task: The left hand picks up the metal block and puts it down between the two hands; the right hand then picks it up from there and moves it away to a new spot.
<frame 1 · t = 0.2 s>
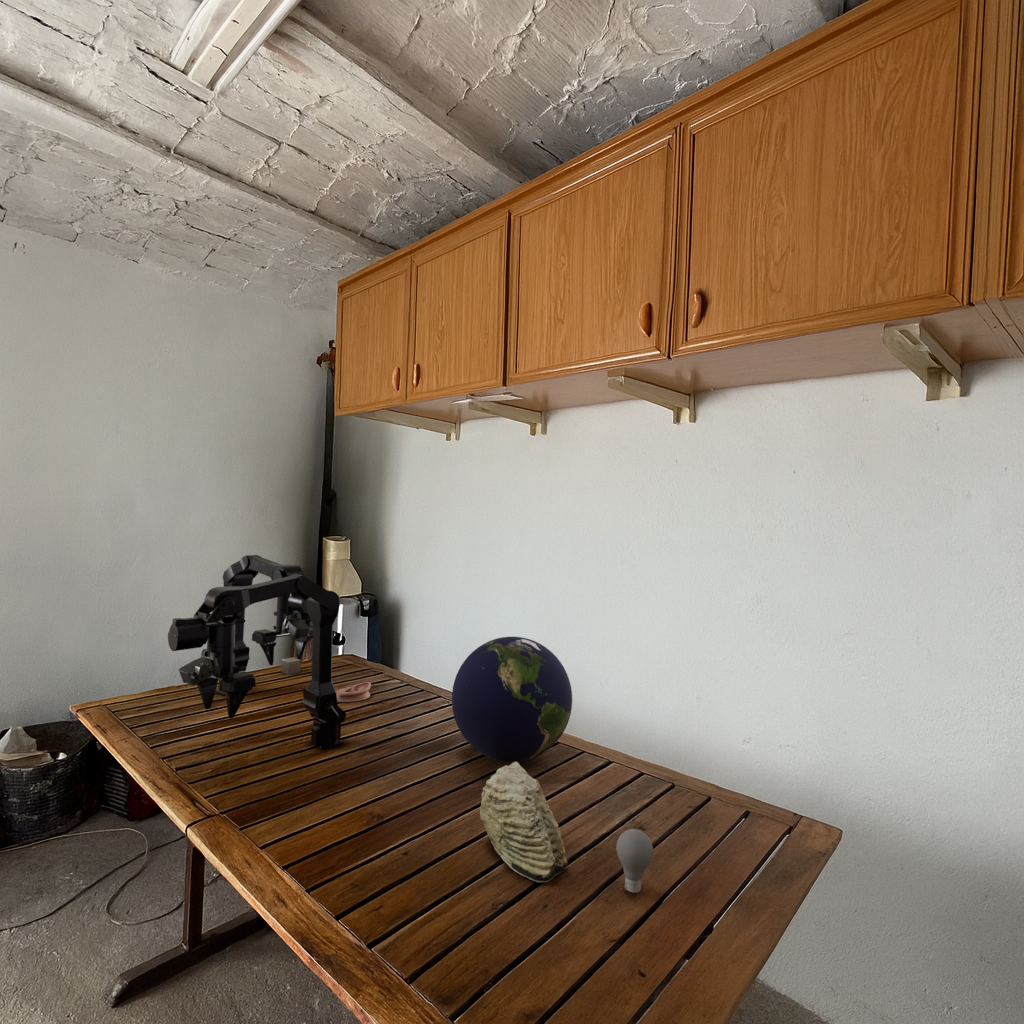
left hand: (285, 662, 184), 15 cm above the table, tool pointing down, fingers open, 9 cm apart
right hand: (219, 713, 142), 14 cm above the table, tool pointing down, fingers open, 9 cm apart
globe: (509, 758, 158), on the table
block: (290, 672, 224), on the table
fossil: (519, 856, 115), on the table
anatomical model: (347, 697, 200), on the table
light bulb: (632, 891, 106), on the table
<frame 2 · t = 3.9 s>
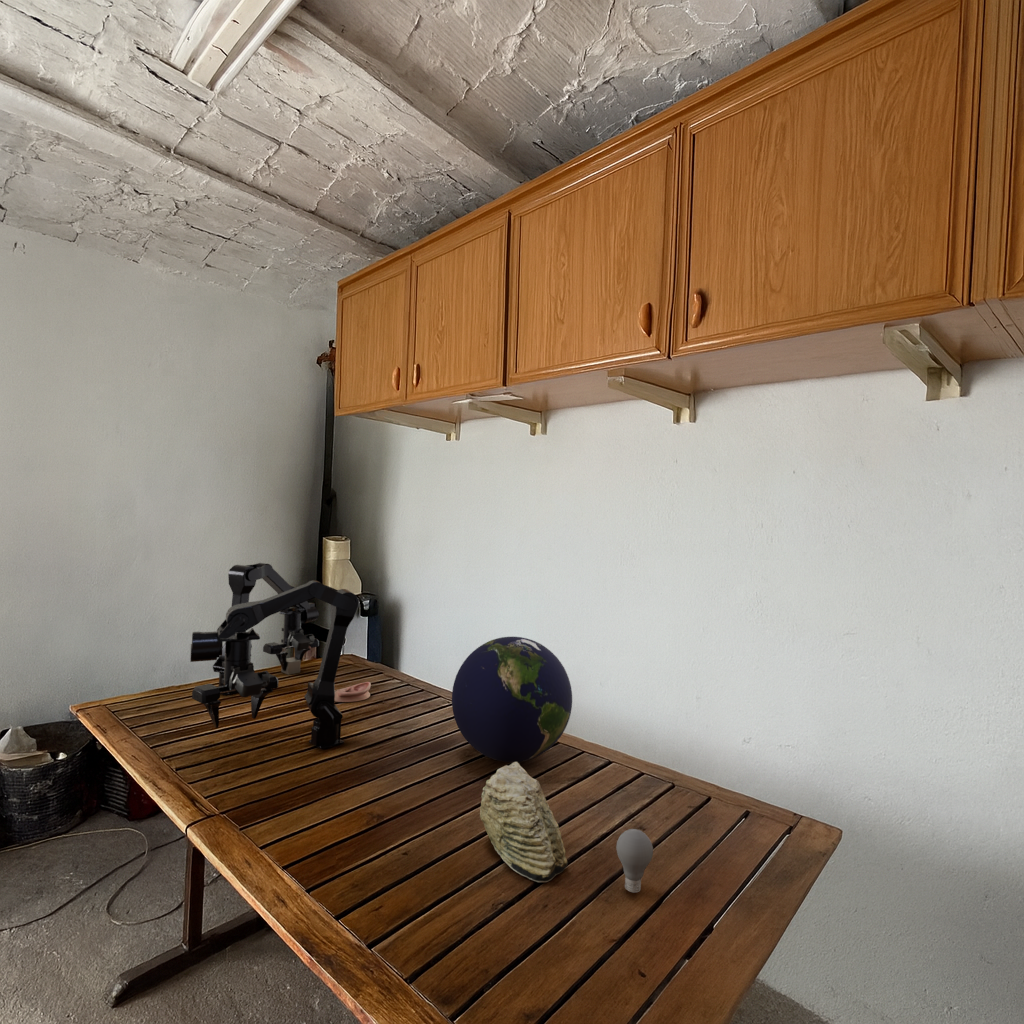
left hand: (290, 669, 224), 1 cm above the table, tool pointing down, fingers closed on block, 5 cm apart
right hand: (235, 722, 152), 8 cm above the table, tool pointing down, fingers open, 9 cm apart
block: (290, 672, 225), on the table, touching left hand
everything else where it was.
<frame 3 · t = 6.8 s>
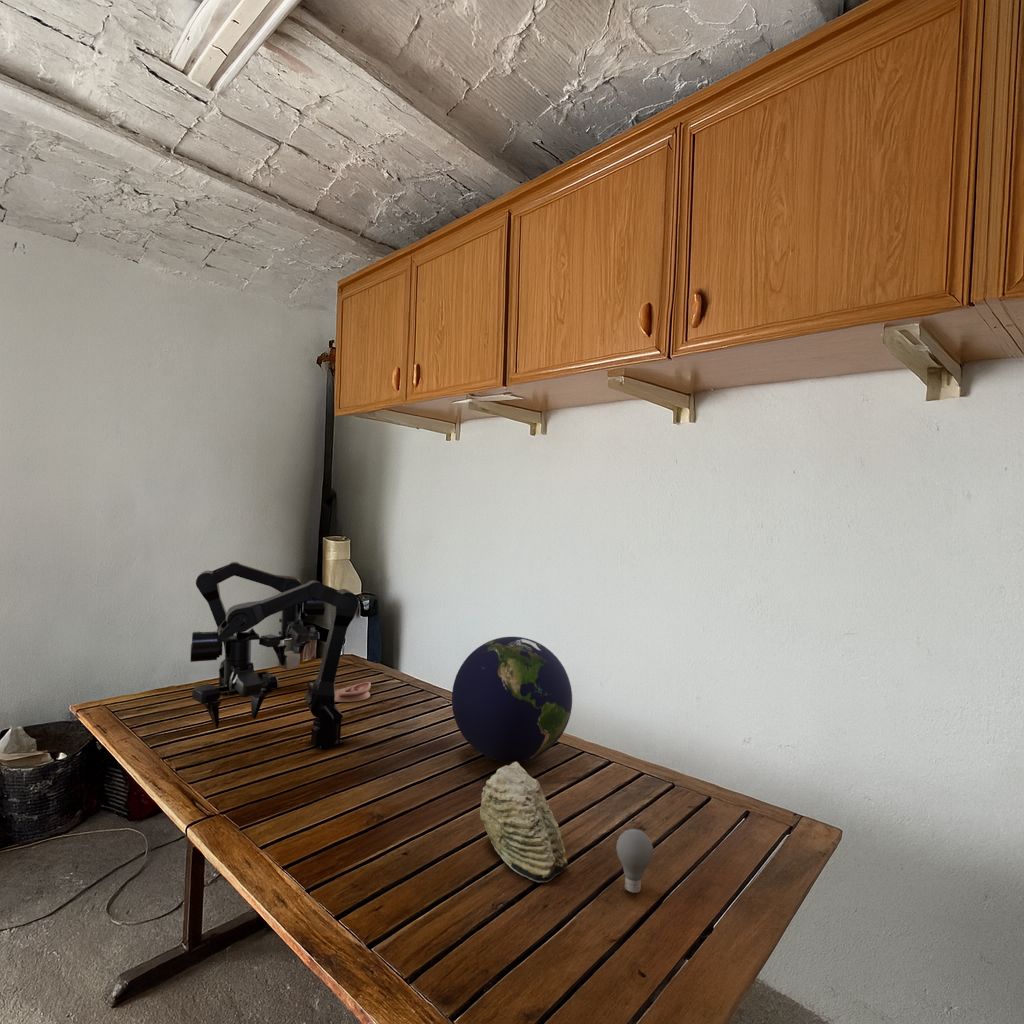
left hand: (289, 663, 206), 8 cm above the table, tool pointing down, fingers closed on block, 5 cm apart
right hand: (235, 722, 152), 8 cm above the table, tool pointing down, fingers open, 9 cm apart
block: (288, 666, 206), point 7 cm above the table, touching left hand
everything else where it was.
when the left hand's fingers open (2 cm above the table, at t = 10.0 s): block stays where it is, on the table.
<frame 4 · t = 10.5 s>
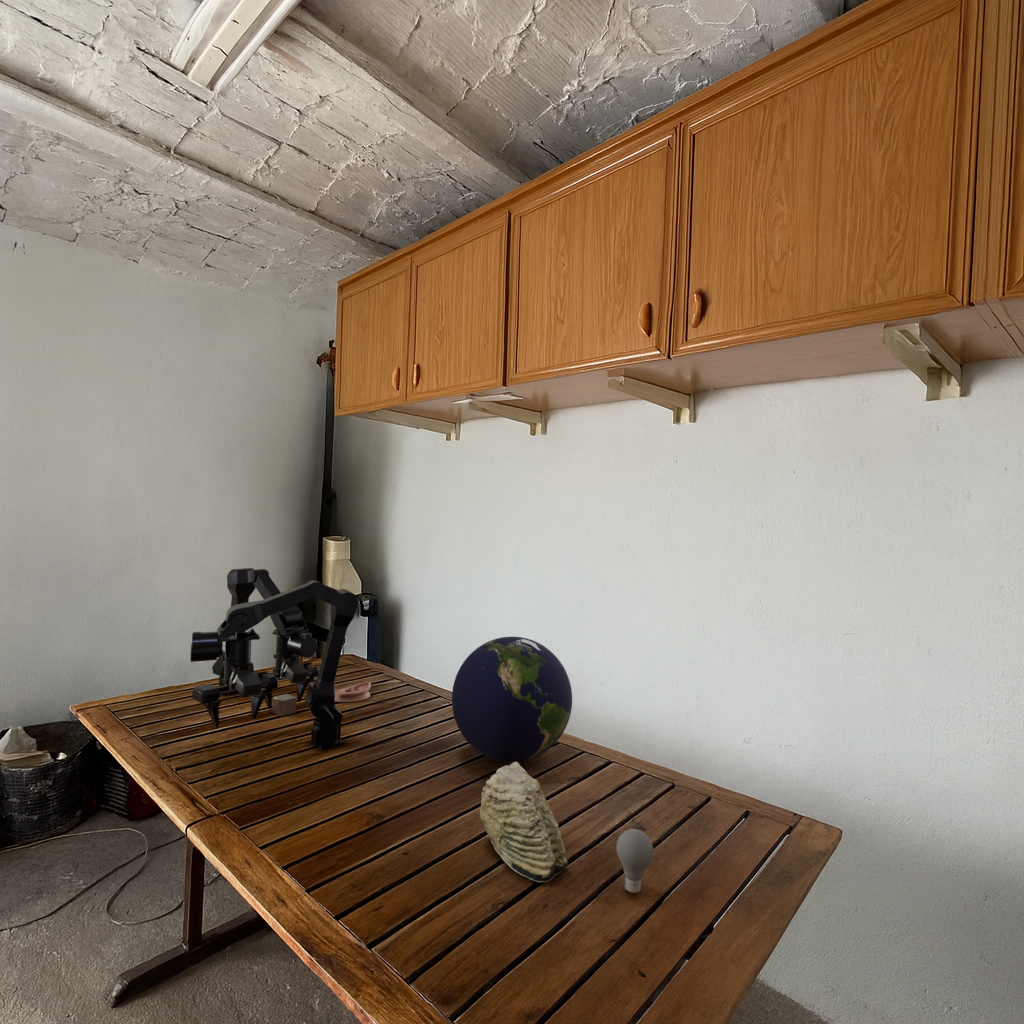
left hand: (284, 705, 183), 2 cm above the table, tool pointing down, fingers open, 9 cm apart
right hand: (235, 722, 152), 8 cm above the table, tool pointing down, fingers open, 9 cm apart
block: (284, 712, 184), on the table
everything else where it was.
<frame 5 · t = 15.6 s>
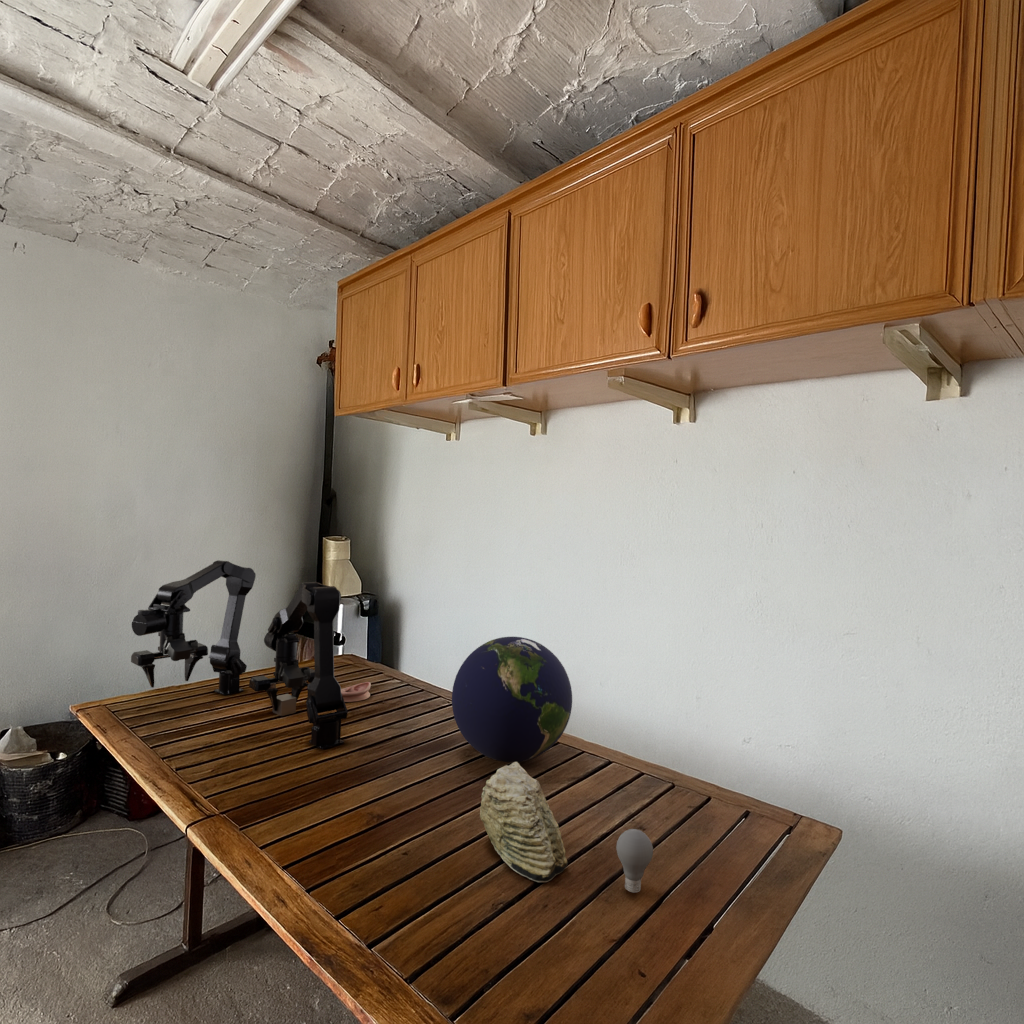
left hand: (169, 684, 180), 8 cm above the table, tool pointing down, fingers open, 9 cm apart
right hand: (284, 709, 183), 1 cm above the table, tool pointing down, fingers closed on block, 5 cm apart
block: (284, 712, 184), on the table, touching right hand
everything else where it was.
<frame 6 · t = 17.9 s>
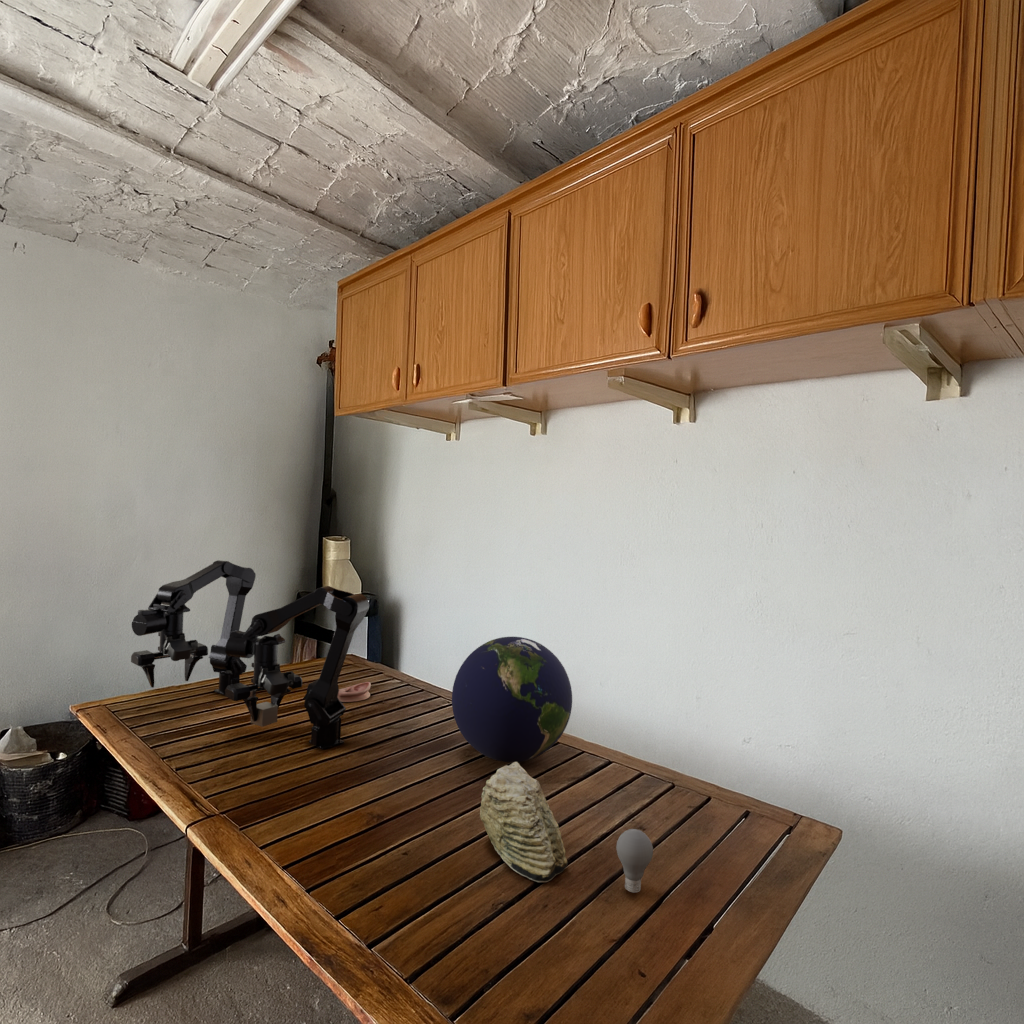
left hand: (169, 684, 180), 8 cm above the table, tool pointing down, fingers open, 9 cm apart
right hand: (263, 718, 166), 4 cm above the table, tool pointing down, fingers closed on block, 5 cm apart
block: (263, 722, 166), point 3 cm above the table, touching right hand
everything else where it was.
when the right hand's fingers open (2 cm above the table, at t = 20.4 s): block stays where it is, on the table.
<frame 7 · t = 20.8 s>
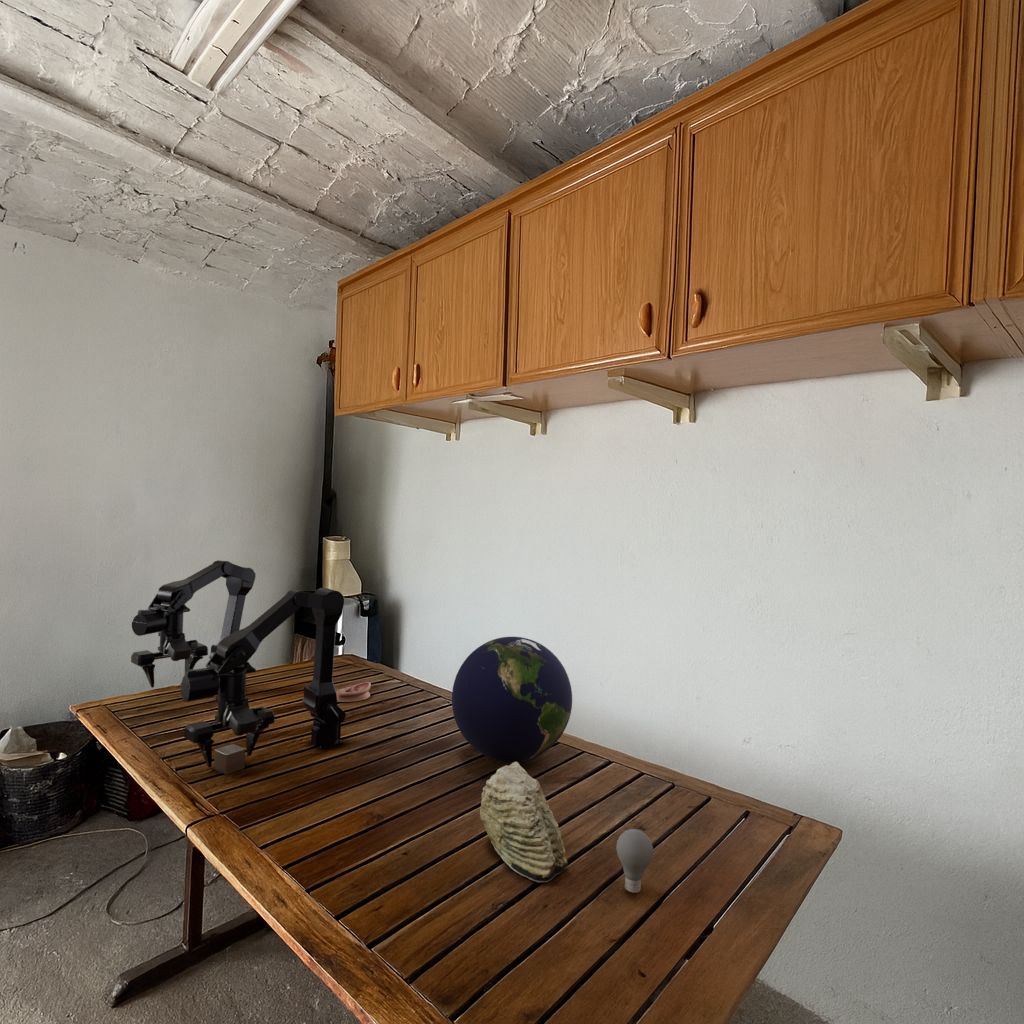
left hand: (169, 684, 180), 8 cm above the table, tool pointing down, fingers open, 9 cm apart
right hand: (229, 761, 145), 2 cm above the table, tool pointing down, fingers open, 9 cm apart
block: (229, 768, 145), on the table
everything else where it was.
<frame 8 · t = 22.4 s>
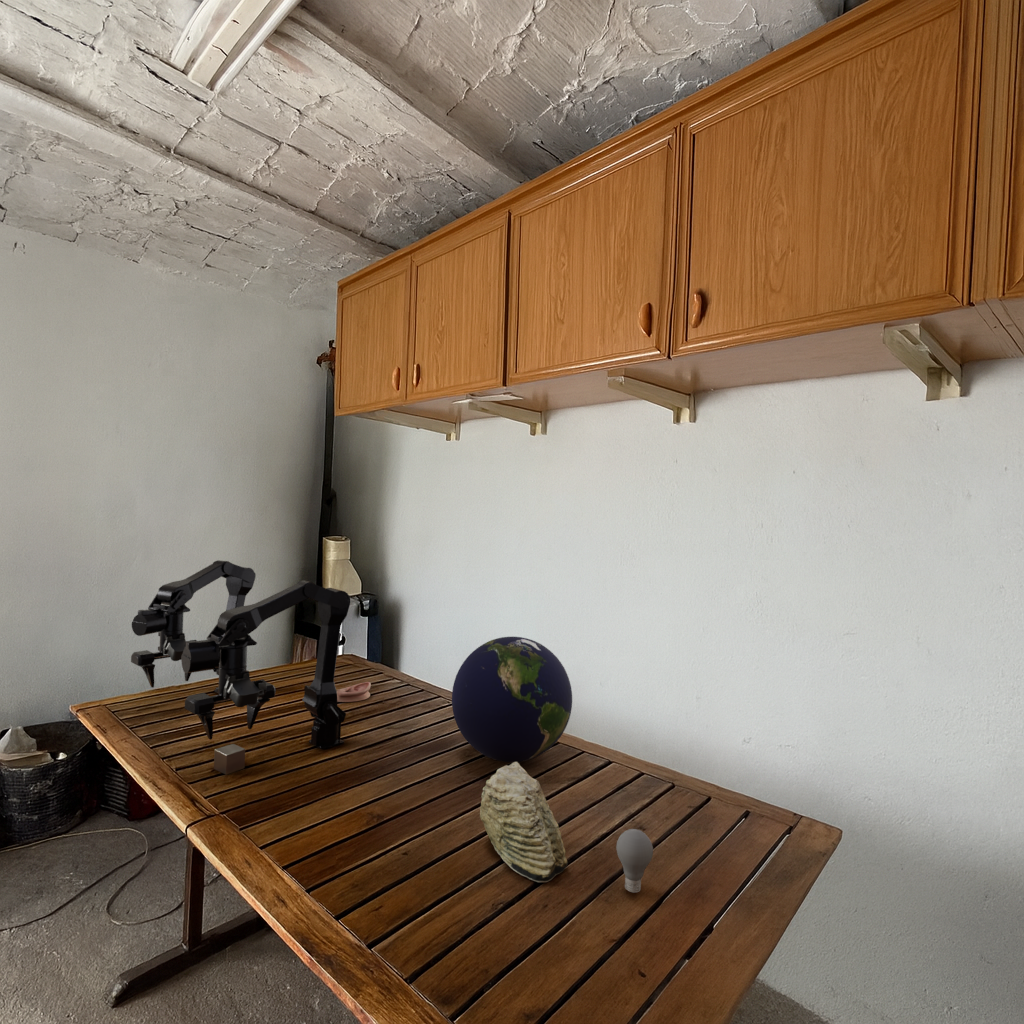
left hand: (169, 684, 180), 8 cm above the table, tool pointing down, fingers open, 9 cm apart
right hand: (230, 733, 145), 8 cm above the table, tool pointing down, fingers open, 9 cm apart
nothing on the table moved.
at the end: block inside the target area (0.1 cm from its centre), on the table; block tilted 0°; the two hands never held the block at the same time; the left hand is holding nothing; the right hand is holding nothing; block at rest at the end (0.0 cm/s) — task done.
